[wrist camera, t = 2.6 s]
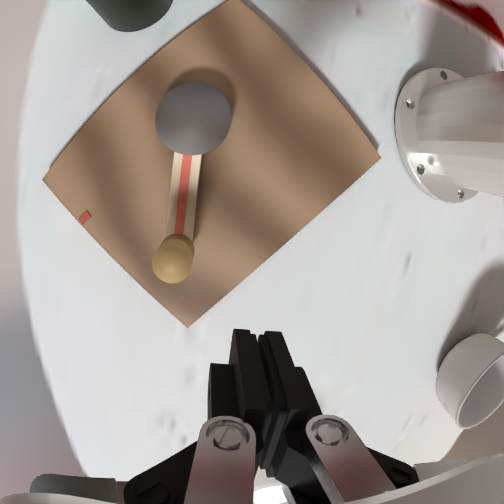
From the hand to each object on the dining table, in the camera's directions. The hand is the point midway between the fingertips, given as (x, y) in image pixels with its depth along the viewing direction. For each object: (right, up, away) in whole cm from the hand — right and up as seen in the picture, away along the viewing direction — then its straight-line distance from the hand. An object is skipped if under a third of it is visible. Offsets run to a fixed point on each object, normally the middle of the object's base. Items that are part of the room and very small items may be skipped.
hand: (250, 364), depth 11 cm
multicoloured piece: (-4, +9, +10) cm, 14 cm away
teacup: (+28, -10, +21) cm, 36 cm away
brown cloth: (-3, +11, +11) cm, 16 cm away
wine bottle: (-9, +24, +7) cm, 26 cm away
